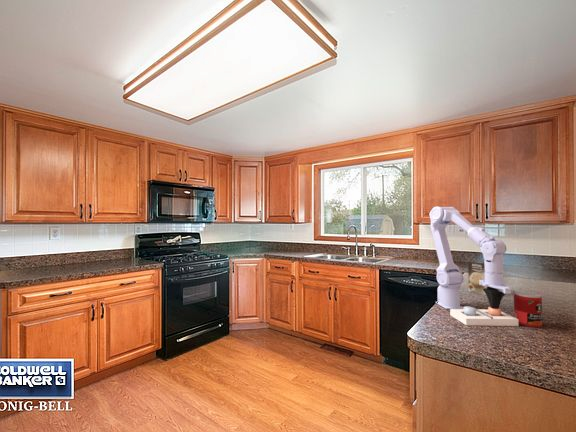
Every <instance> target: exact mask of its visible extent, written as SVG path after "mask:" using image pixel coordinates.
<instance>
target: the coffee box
mask: <svg viewBox="0 0 576 432" xmlns="http://www.w3.org/2000/svg"><path fill="white" fill-rule="evenodd" d="M467 266H468V269H467V270H468V271H467V272H468V274H467V275H468V276H467V279H468V283H467V284H468V285H467V286H468V290H467V291H468V292H469V293H473V294H477V295H484V296H487V295H486V294H485V292H484V290H483V289H484V288H487V286H483V285H479V280H485V265H484V261H481V260H479V261H478V260H471V261H468V262H467Z"/></svg>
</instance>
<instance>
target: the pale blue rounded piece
mask: <svg viewBox="0 0 576 432" xmlns="http://www.w3.org/2000/svg"><path fill="white" fill-rule="evenodd" d="M463 307H464V314H465V315H466V316H476V309H477V308H476V307H473V306H469V305H467V306H463Z"/></svg>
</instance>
